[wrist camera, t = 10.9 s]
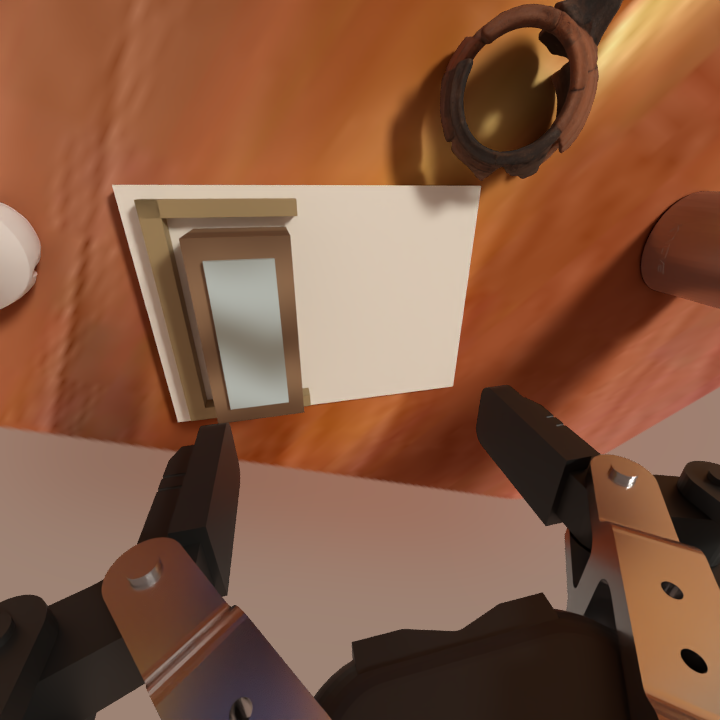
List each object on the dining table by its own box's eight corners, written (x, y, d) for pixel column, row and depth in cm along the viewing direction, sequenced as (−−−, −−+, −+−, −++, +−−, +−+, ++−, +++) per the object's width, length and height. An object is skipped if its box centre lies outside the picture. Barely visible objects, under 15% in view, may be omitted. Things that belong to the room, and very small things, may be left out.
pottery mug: (515, 205, 29) (527, 212, 22) (420, 139, 29) (401, 125, 22) (649, 30, 23) (725, -38, 16) (527, -53, 23) (549, -160, 16)
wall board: (472, 185, 27) (490, 185, 25) (447, 380, 34) (458, 392, 32) (119, 184, 22) (103, 185, 20) (181, 413, 29) (174, 431, 27)
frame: (193, 228, 23) (177, 239, 18) (285, 226, 24) (290, 236, 20) (224, 389, 28) (217, 426, 24) (298, 380, 29) (304, 414, 25)
